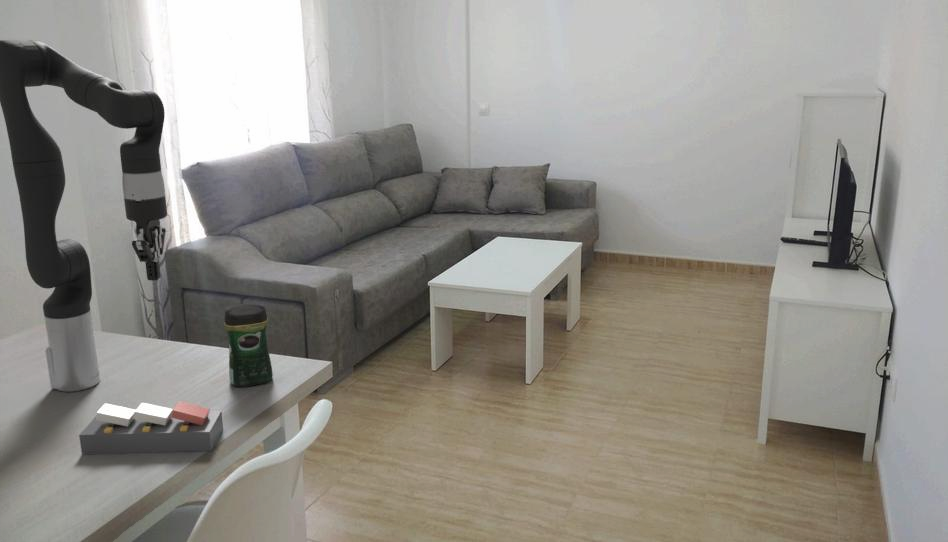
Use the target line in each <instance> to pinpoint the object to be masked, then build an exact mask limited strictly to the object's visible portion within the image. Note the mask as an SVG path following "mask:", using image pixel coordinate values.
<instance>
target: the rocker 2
mask: <svg viewBox="0 0 948 542" xmlns="http://www.w3.org/2000/svg"><path fill="white" fill-rule="evenodd" d="M173 409H174V408H171V407H165V406H161V405H156V404H151V403H147V402H141V403H140V404H139V406H137V408H136V409H135V412H134V418H133V419H136V420H140V421H145V422H150V423H155V424H160V425H164V426H165V425H166V424H167V422H168V421H169V420H170V418H171V416H172V412H173Z"/></svg>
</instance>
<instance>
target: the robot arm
mask: <svg viewBox="0 0 948 542" xmlns="http://www.w3.org/2000/svg"><path fill="white" fill-rule="evenodd" d="M42 86H52V87H57V88H62V89H63V90H64V93H65V95H66V96H67V97H68V98H69V99H71V101H73V102H74V103H75V104H76V105H79V106H81V107H84V108H85V109H88V110H90V111H93V112H95V113H97V114H98V115H99V116H100V117H101V118H102V119H103V120H104V121H105V122H107V123H108V124H109V125H111V126H113V127H114V128H115V127H116V128H119V129H134V128H135V132H134V135H133V137H132V138H131V139H129V140H127V141H124V142H122V143H121V145H120V147H119V155H120V164H121V172H122V175H121V176H122V178H121V181H122V192H123V193H122V194H123V201H124V208H125V216H126V219H127V220H128V221H131V222H135V231H134V233H135V238H136V240H132V241H131V245H132V248H133V250H134V251H135V254H136V257H138V261H139V262H141V263H145V272H146V279H147V280H148V281H158V280H160V279H161V278H162V275H161V268H160V267H161V266H160V261H161V256H163V254H164V247H165V246H164V245H165V238H166V232H167V231H166V230H167V229H166V228H165V227H162V225H161V221H160V220H163V219H165V218H166V217H167V216H168V208H167V199H166V190H165V188H166V187H165V181H164V177H163V174H162V172H163V171H162V163H161V155H160V148H161V147H160V145H161V141H162V136H163V135H162V134H163V129H164V123H165V117H166V116H165V114H166V113H165V106H164V103H163V101H162V99H161V97H160V96H159V95H158V94H157V93H156V92H155V91H153V90H152V89H147V88H145V89H143V88H142V89H127V90H124V89H123V88H122V86H121V85H120V84H119V83H118V82H117V81H115V80H113V79H111V78H108V77H106V76H103V75H101V74H99V73H96V72H94V71H91V70H89V69H87V68H84V67H83V66H80V65H79V64H77V63H76V62H74V61H73V60H71V59H69V58H67V57H66V56H65V55H63V54H62V53H60V52H58V51H57V50H56V49H54V48H53V47H51V46H49V45H48V44H47V43H43V42H42V41H38V40H32V39H0V106H1V110H2V113H3V114H2V115H3V118H4V119H3V120H4V123H5V127H6V132H7V137H8V143H9V148H10V153H11V155H10V156H11V161H12V166H13V172H14V178H15V182H16V186H17V191H18V197H19V202H20V210H21V215H22V222H23V223H22V224H23V233H24V235H23V236H24V247H25V248H24V249H25V258H26V259H25V260H26V266H27V270H28V273H29V275H30V278H31V279H32V280H33V282H34V283H35V284H36V285H37V286H39V287H40V288H42V289H54V290H53V291H52V293H51V294H50V295H49V296H48V298H47V299H46V300H45V301H44V302H43V304H42V310H43V315H44V316H43V317H44V324H45V329H46V334H47V335H46V336H47V343H48V347H47V348H46V349H45V355H46V356H45V357H46V363H47V370H48V371H47V372H48V377H49V383H50V389H51V390H57V391H61V392H67V393H68V392H77V391H82V390H87V389H90V388H92V387H95V385H97V384H99V382H100V381H101V377H100V370H99V363H98V355H97V348H96V347H97V346H96V340H95V333H94V326H93V319H92V318H93V317H92V311H91V301H92V297H93V288H92V275H91V274H92V273H91V264H90V260H89V256H88V252H87V251H86V249H85V247H84V246H83V245H82V244H81V243H80V242H78V241H77V240H75V239H70V238H66V239H65V238H64V239H61V240H57V235H56V233H57V232H56V219H57V218H56V217H57V214H58V210H59V207H60V205H61V201H62V200H63V199H62V198H63V196H64V195H63V194H64V191H65V187H66V174H65V168H64V167H65V166H64V161H63V156H62V151H61V148H60V147H59V145H58V143H57V141H56V140H55V139H54V138H53V137H52V135H51V134H50V133H49V132H48V131H47V130H46V128H45V127H44V126H43V125H42V124H41V122H40V121H39V120H38V118H37V117H36V116H35V114H34V112H33V110H32V107H31V105H30V103H29V99H28V96H27V91H26V88H28V87H29V88H30V87H32V88H33V87H42Z"/></svg>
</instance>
